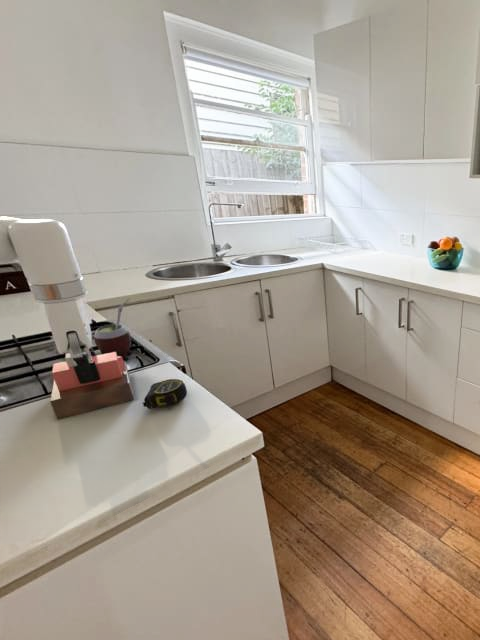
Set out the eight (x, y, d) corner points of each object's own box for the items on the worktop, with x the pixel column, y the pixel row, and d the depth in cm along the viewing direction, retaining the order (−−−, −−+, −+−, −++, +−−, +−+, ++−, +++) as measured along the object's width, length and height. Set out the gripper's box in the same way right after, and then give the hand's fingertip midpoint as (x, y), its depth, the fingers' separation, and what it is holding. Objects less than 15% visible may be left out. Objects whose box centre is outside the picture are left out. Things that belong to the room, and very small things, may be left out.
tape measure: (155, 395, 80) (150, 380, 79) (191, 391, 82) (187, 375, 81) (145, 413, 74) (140, 397, 73) (184, 408, 76) (180, 392, 75)
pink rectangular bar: (58, 391, 73) (47, 363, 71) (60, 381, 77) (49, 354, 74) (127, 375, 80) (119, 350, 77) (125, 367, 83) (117, 342, 81)
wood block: (57, 419, 72) (49, 401, 70) (61, 392, 80) (54, 375, 79) (134, 399, 79) (128, 382, 77) (129, 376, 87) (125, 361, 86)
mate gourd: (94, 360, 94) (74, 302, 88) (126, 348, 101) (110, 294, 95) (115, 366, 92) (96, 307, 86) (146, 353, 98) (131, 297, 92)
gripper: (37, 282, 74) (68, 365, 82) (26, 305, 62) (64, 400, 69) (86, 277, 79) (111, 356, 86) (84, 297, 66) (115, 387, 74)
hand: (90, 375), depth 78 cm, fingers open, 5 cm apart
